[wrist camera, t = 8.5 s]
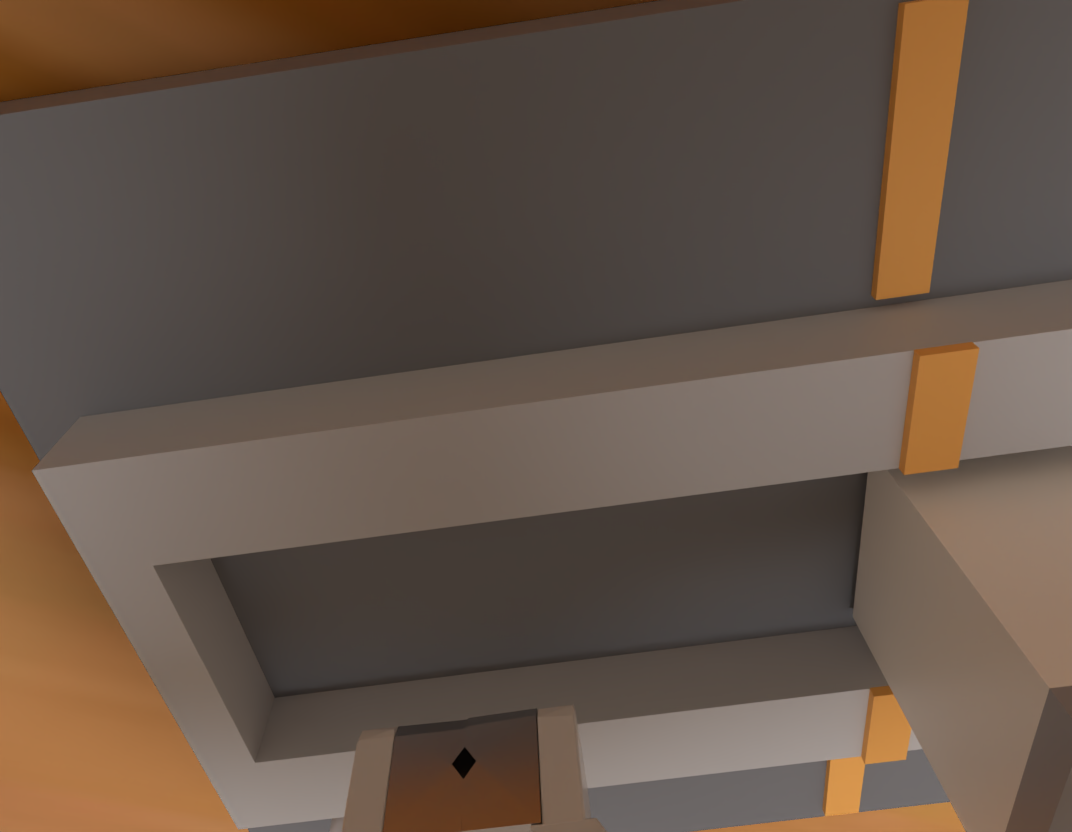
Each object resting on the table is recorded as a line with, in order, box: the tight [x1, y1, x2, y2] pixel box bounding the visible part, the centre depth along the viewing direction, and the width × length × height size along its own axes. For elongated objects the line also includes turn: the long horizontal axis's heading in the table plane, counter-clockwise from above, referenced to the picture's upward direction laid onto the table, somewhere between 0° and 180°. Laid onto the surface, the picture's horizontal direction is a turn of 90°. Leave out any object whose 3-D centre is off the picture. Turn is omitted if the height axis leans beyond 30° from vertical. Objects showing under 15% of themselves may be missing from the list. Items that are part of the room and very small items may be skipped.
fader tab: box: [853, 446, 1072, 832], centre depth 12 cm, size 4×3×6 cm
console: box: [0, 0, 1072, 832], centre depth 15 cm, size 18×20×4 cm
